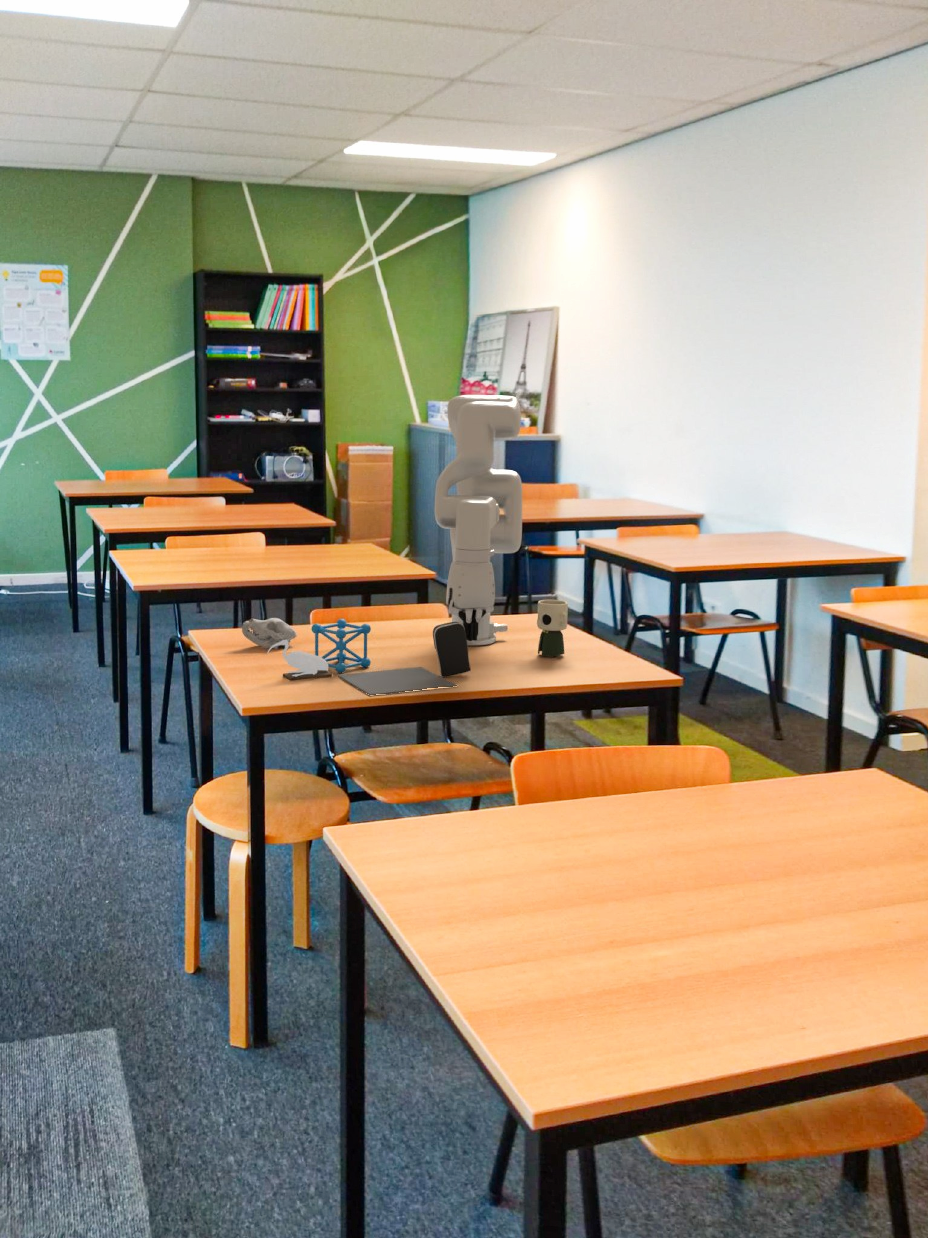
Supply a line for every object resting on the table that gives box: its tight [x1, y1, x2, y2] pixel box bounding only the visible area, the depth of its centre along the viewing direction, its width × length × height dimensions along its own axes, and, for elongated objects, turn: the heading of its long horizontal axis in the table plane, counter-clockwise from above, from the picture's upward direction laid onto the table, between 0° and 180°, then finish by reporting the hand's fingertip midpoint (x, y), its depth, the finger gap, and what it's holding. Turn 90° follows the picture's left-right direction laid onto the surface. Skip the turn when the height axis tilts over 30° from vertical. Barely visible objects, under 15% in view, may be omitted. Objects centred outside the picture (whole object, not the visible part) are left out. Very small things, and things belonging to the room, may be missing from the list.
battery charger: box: [432, 621, 471, 678], centre depth 273 cm, size 7×4×11 cm, turn 105°
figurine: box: [266, 640, 333, 682], centre depth 269 cm, size 14×4×9 cm, turn 117°
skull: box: [241, 617, 298, 650], centre depth 298 cm, size 8×9×12 cm
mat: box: [337, 666, 458, 696], centre depth 268 cm, size 20×18×1 cm
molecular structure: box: [310, 618, 372, 674], centre depth 279 cm, size 10×10×10 cm
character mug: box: [536, 599, 569, 658], centre depth 295 cm, size 11×7×13 cm, turn 32°
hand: (470, 639), depth 274 cm, fingers closed
